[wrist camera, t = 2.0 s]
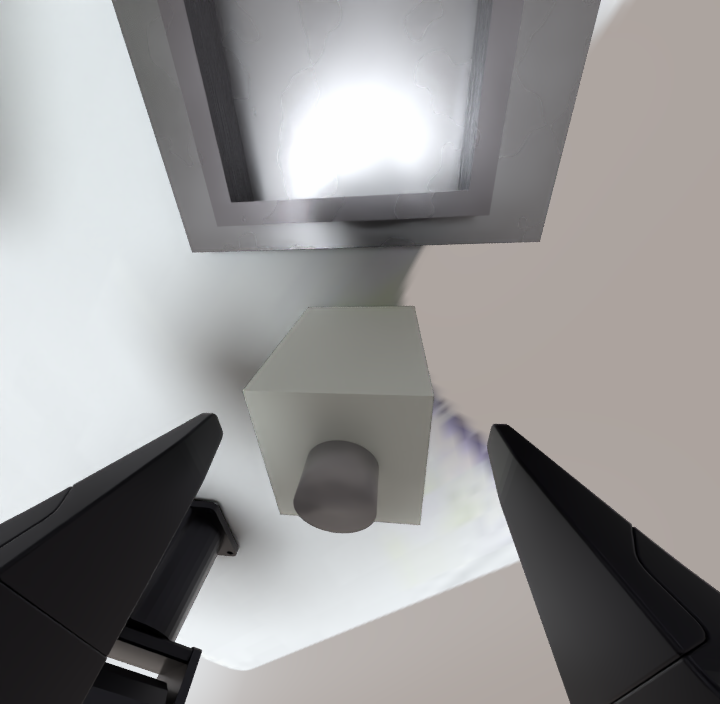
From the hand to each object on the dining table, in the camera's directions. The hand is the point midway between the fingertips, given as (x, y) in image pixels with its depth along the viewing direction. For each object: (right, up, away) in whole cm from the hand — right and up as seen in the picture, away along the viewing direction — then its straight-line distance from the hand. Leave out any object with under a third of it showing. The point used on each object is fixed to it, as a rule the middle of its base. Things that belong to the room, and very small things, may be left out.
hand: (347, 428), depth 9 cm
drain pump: (+1, +2, +4) cm, 5 cm away
